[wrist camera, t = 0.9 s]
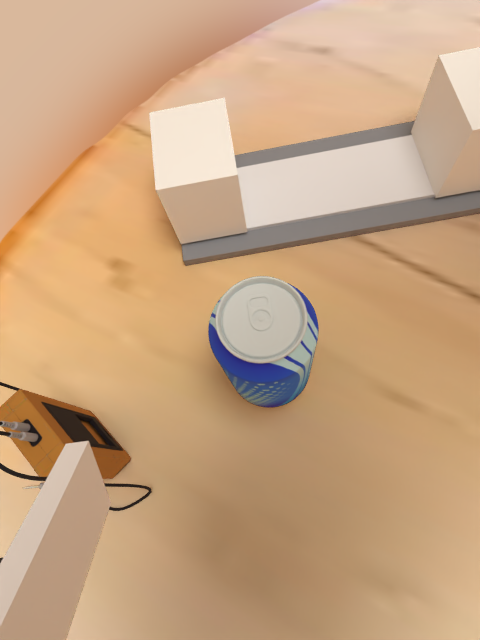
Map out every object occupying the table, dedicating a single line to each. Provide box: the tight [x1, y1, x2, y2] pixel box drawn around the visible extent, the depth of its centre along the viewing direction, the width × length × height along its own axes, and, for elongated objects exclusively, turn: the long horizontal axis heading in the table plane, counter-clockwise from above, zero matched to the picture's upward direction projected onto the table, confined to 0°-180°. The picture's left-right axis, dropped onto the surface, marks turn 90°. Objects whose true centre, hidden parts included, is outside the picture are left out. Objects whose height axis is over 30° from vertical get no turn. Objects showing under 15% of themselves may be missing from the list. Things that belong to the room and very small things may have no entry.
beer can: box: [209, 276, 318, 407], centre depth 37 cm, size 8×8×16 cm
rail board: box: [149, 47, 480, 266], centre depth 46 cm, size 38×14×12 cm, turn 98°
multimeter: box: [0, 382, 151, 511], centre depth 33 cm, size 15×10×20 cm
